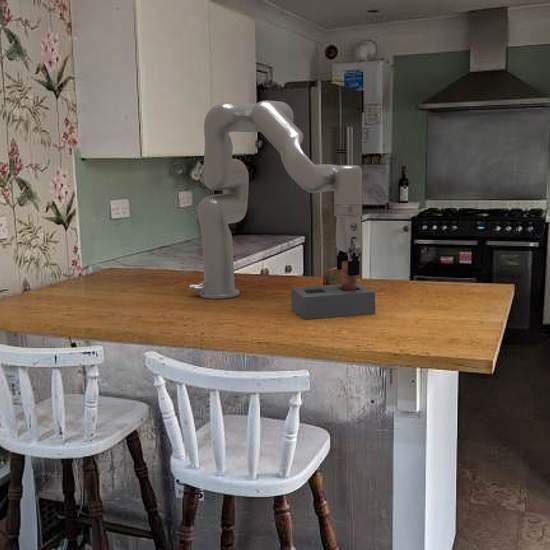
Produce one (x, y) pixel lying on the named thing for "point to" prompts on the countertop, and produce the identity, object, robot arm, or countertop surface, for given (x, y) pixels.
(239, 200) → the robot arm
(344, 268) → the pin
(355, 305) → the bore block
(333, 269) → the tin
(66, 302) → the countertop surface
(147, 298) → the countertop surface
